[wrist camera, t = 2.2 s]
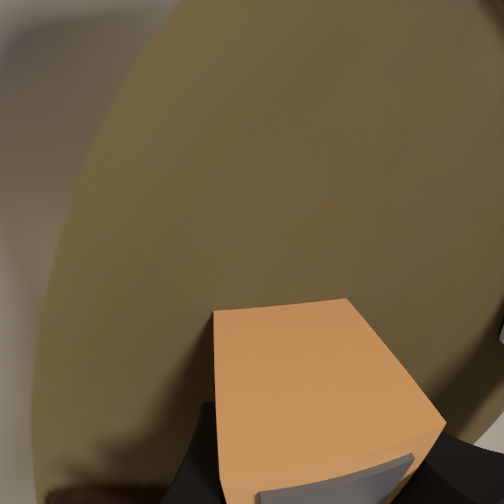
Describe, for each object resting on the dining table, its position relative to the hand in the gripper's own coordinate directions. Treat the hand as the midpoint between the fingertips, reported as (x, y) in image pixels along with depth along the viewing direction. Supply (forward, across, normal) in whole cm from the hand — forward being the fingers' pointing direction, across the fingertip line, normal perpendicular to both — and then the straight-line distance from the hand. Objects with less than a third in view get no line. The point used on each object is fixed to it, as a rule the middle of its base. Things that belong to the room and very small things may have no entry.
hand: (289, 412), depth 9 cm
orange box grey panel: (+2, 0, 0) cm, 2 cm away
